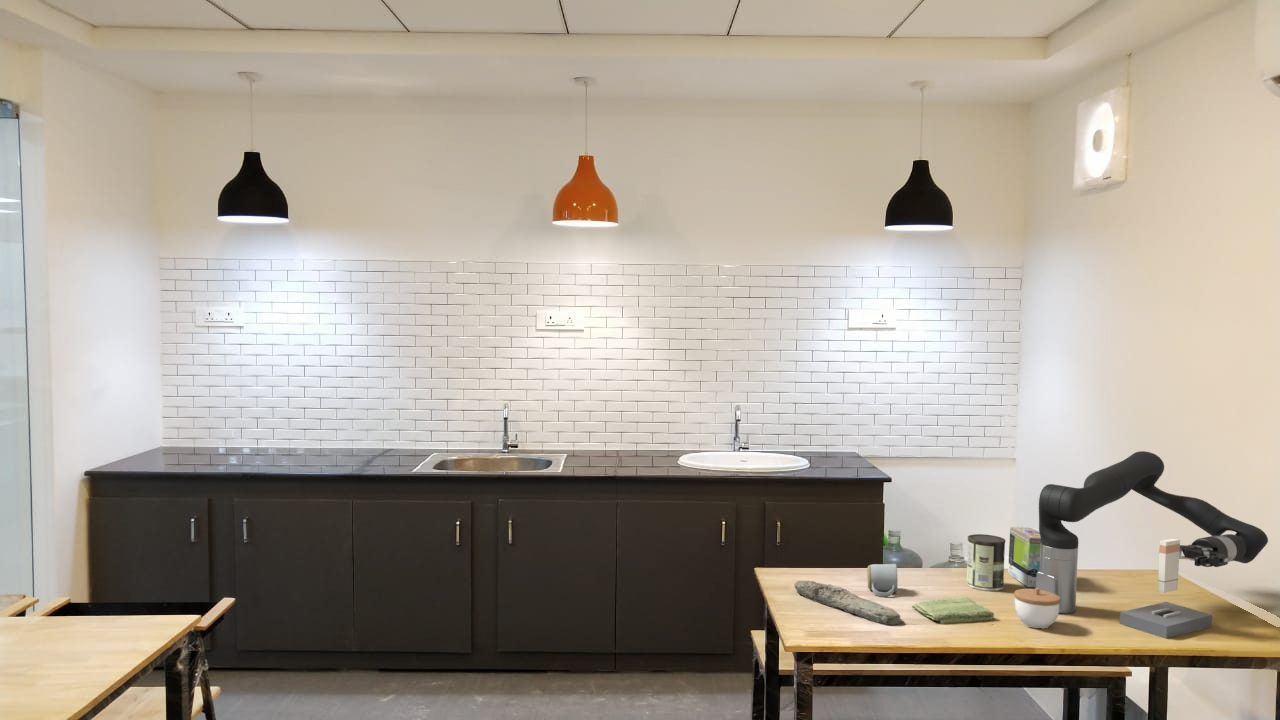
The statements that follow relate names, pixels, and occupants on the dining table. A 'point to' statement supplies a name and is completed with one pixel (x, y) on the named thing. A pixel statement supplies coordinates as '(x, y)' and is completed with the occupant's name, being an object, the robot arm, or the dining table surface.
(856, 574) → the dining table surface
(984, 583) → the coffee can
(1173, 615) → the grey slotted block
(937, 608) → the washcloth
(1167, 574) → the banded cream bar
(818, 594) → the long grey stone
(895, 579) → the ceramic mug
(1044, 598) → the lidded jar
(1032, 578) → the green printed box
